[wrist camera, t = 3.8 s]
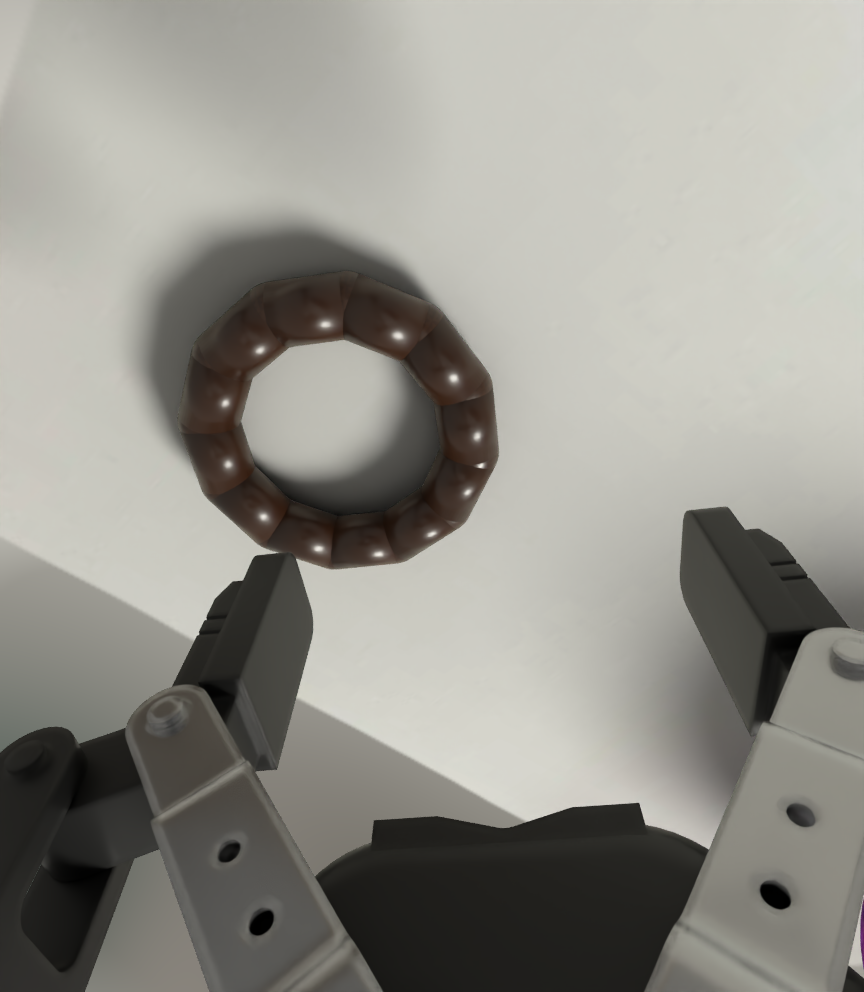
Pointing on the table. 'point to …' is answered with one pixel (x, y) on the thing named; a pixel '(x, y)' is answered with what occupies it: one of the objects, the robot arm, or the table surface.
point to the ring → (376, 326)
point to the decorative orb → (862, 933)
